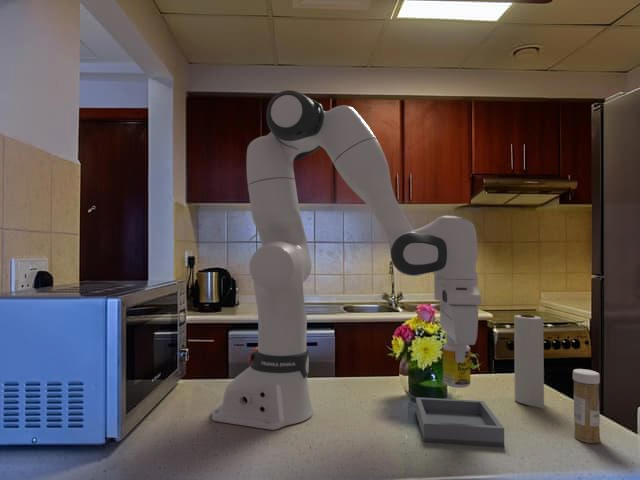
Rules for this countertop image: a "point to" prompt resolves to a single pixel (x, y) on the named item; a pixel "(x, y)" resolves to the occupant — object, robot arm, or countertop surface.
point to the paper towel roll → (529, 360)
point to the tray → (458, 422)
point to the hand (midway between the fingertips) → (456, 357)
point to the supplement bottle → (455, 366)
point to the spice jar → (586, 405)
